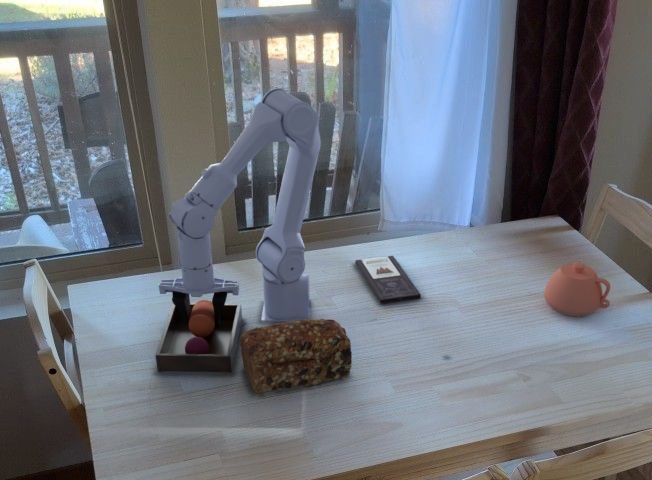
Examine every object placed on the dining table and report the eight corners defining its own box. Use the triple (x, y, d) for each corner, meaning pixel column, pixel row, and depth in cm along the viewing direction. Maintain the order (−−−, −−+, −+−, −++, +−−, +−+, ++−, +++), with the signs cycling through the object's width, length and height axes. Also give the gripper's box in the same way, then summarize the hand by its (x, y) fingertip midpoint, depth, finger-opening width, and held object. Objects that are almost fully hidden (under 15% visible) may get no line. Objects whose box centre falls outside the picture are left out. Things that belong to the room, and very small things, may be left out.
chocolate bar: (380, 299, 174) (355, 260, 187) (380, 303, 174) (355, 264, 188) (420, 294, 177) (392, 255, 190) (420, 298, 177) (392, 259, 191)
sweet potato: (195, 316, 164) (193, 295, 161) (219, 316, 164) (217, 295, 162) (188, 342, 157) (185, 321, 154) (213, 342, 157) (211, 321, 154)
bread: (253, 398, 147) (250, 352, 141) (240, 365, 155) (237, 320, 149) (353, 380, 152) (354, 335, 146) (336, 349, 160) (336, 305, 154)
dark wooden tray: (242, 321, 167) (241, 303, 164) (232, 374, 152) (230, 356, 150) (175, 320, 166) (172, 302, 164) (158, 373, 151) (155, 355, 149)
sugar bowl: (553, 286, 184) (561, 245, 178) (614, 304, 179) (624, 262, 173) (534, 311, 175) (541, 268, 169) (597, 330, 170) (607, 287, 164)
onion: (211, 352, 157) (209, 332, 154) (208, 365, 153) (206, 345, 150) (188, 351, 156) (185, 332, 154) (184, 365, 153) (181, 345, 150)
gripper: (152, 272, 148) (161, 335, 156) (234, 273, 149) (239, 336, 157) (159, 253, 154) (168, 315, 162) (238, 255, 155) (243, 316, 163)
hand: (203, 324), depth 160 cm, fingers closed on sweet potato, 5 cm apart
